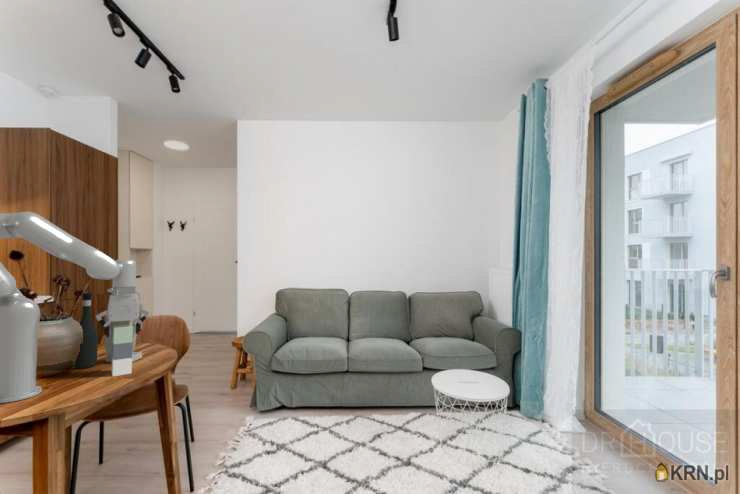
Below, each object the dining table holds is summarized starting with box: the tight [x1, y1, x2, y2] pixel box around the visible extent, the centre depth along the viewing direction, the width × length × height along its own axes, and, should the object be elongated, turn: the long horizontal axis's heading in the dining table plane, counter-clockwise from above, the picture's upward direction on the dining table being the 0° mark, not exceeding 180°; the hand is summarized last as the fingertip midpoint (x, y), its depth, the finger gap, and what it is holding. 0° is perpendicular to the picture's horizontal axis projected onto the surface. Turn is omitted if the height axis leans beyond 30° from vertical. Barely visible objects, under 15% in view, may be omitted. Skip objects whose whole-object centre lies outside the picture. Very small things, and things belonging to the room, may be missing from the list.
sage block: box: [112, 324, 133, 344], centre depth 142 cm, size 6×6×6 cm
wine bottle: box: [72, 292, 99, 370], centre depth 149 cm, size 8×8×30 cm
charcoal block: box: [112, 342, 133, 360], centre depth 142 cm, size 6×6×6 cm
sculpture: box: [104, 290, 144, 363], centre depth 159 cm, size 15×8×30 cm, turn 84°
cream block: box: [111, 358, 133, 377], centre depth 142 cm, size 6×6×6 cm
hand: (122, 335), depth 142 cm, fingers open, 9 cm apart
